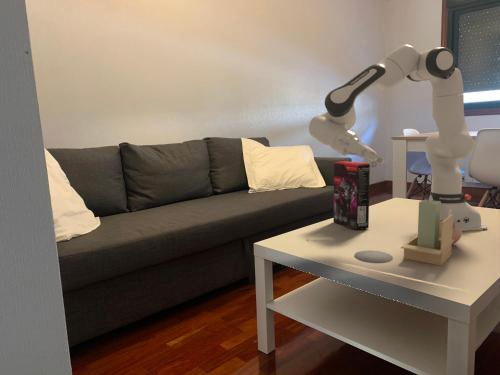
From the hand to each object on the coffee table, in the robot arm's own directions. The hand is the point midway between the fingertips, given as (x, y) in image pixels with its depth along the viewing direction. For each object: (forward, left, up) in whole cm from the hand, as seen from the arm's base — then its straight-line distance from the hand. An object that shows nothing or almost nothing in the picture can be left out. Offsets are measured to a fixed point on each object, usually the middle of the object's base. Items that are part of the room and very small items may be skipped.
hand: (379, 160), depth 139 cm
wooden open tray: (-12, +15, -30) cm, 36 cm away
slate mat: (+5, +15, -30) cm, 34 cm away
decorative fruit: (-23, +2, -31) cm, 38 cm away
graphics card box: (+6, -27, -31) cm, 41 cm away
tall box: (-12, +15, -30) cm, 36 cm away
